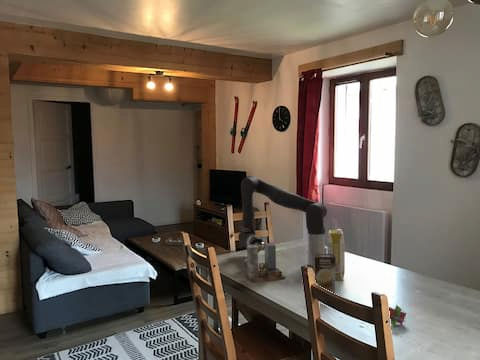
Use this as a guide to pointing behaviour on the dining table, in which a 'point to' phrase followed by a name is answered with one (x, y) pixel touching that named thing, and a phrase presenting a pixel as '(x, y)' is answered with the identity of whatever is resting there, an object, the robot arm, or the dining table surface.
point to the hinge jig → (253, 266)
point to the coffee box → (325, 270)
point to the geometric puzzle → (396, 315)
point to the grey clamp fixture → (269, 258)
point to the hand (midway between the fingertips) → (264, 250)
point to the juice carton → (337, 251)
